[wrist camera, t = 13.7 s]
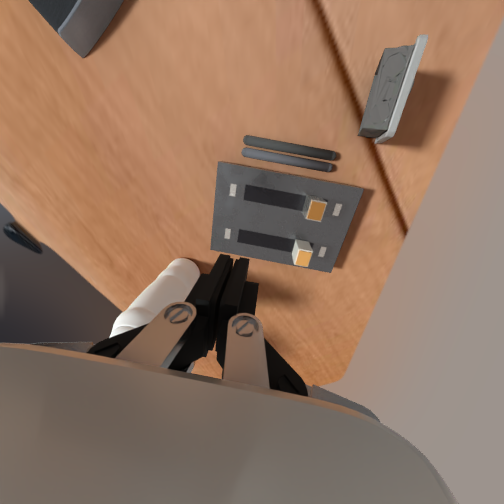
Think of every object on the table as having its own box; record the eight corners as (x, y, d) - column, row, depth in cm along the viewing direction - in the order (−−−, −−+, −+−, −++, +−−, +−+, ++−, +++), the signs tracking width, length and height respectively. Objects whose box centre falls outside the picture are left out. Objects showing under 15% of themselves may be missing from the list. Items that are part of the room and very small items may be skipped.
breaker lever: (295, 239, 37) (298, 249, 33) (308, 241, 37) (313, 252, 33) (291, 253, 38) (294, 265, 34) (304, 256, 38) (308, 268, 34)
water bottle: (194, 254, 44) (110, 355, 21) (205, 281, 46) (141, 396, 24) (165, 259, 45) (57, 361, 22) (177, 285, 48) (92, 399, 25)
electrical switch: (379, 144, 32) (409, 138, 24) (346, 141, 33) (363, 134, 25) (403, 69, 28) (449, 30, 20) (365, 67, 29) (393, 29, 21)
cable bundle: (244, 135, 33) (243, 134, 32) (336, 151, 33) (338, 151, 32) (241, 156, 35) (240, 156, 33) (329, 172, 34) (331, 173, 33)
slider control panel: (222, 161, 35) (209, 161, 28) (356, 186, 35) (378, 193, 28) (214, 243, 42) (202, 260, 35) (327, 265, 42) (338, 287, 35)
